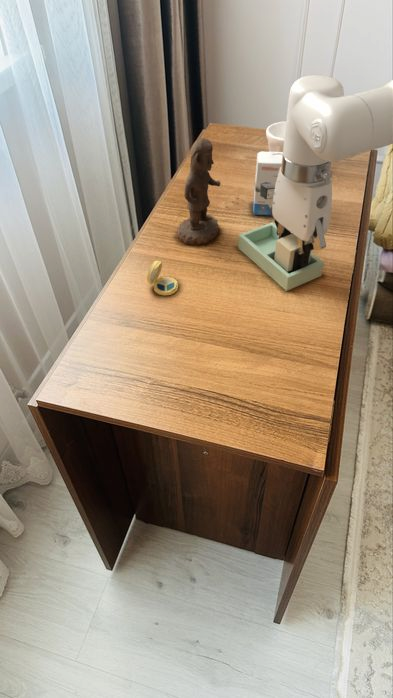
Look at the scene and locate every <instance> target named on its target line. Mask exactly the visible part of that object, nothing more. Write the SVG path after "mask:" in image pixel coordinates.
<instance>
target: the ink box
mask: <svg viewBox="0 0 393 698" xmlns="http://www.w3.org/2000/svg"><path fill="white" fill-rule="evenodd" d="M282 156H283V152H269V151H264V150H263V151H259V152H257V153H256V166H255V177H254V188H253V189H254V190H253V203H252V212H253V213H252V214H253V215H254V216H272V214H271V212H270V208H271V207H272V205H273V196H274V190H275V185H276V181H277V177H278V173H279V170H280V168H281V166H282ZM272 217H273V216H272Z"/></svg>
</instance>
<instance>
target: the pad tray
mask: <svg viewBox="0 0 393 698" xmlns="http://www.w3.org/2000/svg"><path fill="white" fill-rule="evenodd" d="M276 231H277V227H276V224H275V222H273V221H272V222H269V223H266V224H263V225H261V226H258V227H255V228H253V229H251V230H248V231H244V232H243V233H240V234H238V242H237V243H238V244H237V248H238V249H239V250H240V251H241V252H242V253H243V254H244V255H246V257H248V258H249V259H250V260H251V261H252V262H253V263H254V264H256V266H258V268H260V269H261V270H262V271H263V272H264V273H266V275H268V276H269V277H270V278H271V279H272V280H274V281H275V282H276V284H277V285H279V286H280V287H281V288H282V289H283V290H285V292H287V291H290V290H292V289H295V288H296V287H299V286H301V285H303V284H306V283H308V282H311V281H312V280H315V279H317V278H319V277H321V276H322V275H323V269H324V265H325V261H324V260H322V259H321V258H319V257H318V256H317V255H316V254H315V253H313V252H312V251H311V256H310V261H309V263H308V265H307V266H306V267H303V268H301V269H299V270H296V271H294V270H291V271H288V272H287V271H286V270H285V269H284V268H283V267H281V266H280V265H279V264H278V263H277V262H276V261H274V258H275V249H276V240H278V238H279V237H278V236H277V234H276Z"/></svg>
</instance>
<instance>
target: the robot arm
mask: <svg viewBox="0 0 393 698" xmlns="http://www.w3.org/2000/svg"><path fill="white" fill-rule="evenodd" d="M344 95H345V91H344V87H343V85H342V83H341V82H340V81H339V80H338V79H336V78H334V77H330V76H327V75H321V74H320V75H318V74H314V75H312V74H311V75H305V76H302V77H300V78H298V79H297V80H295V81H294V82H293V83H292V85H291V87H290V90H289V94H288V102H287V112H286V120H285V121H286V128H285V138H284V147H283V156H282V166H281V168H280V170H279V173H278V177H277V181H276V185H275V190H274V196H273V205H272V207H271V208H270V212H271V214H272V219H273V220H274V224H276V227H277V231H276V234H277V236H278V237H279V238H278V239H280V238H283V237H285V236H288V235H290V234H294V235H295V236H297V237H298V251H295V254H294V261H293V268H292V269H293V270H294V271H296V270H299V269H301V268H303V267H306V266H307V265H308V262H309V257H310V251H311V252H312V251H321V250H322V249H325V248H326V247H327V241H326V237H325V235H327V234H328V230H329V227H330V226H329V225H330V221H331V214H332V213H331V212H332V205H333V204H332V203H333V181H332V178H333V177H332V176H333V173H332V172H331V167H332V163H334V162H339V161H343V160H346V159H347V160H348V159H350V158H353V157H356V156H359V155H362V154H365V153H368V152H371V151H375V150H377V149H381V148H385V147H387V146H390V145H392V144H393V79H392V80H391V81H389V82H388V83H386V84H384V85H382V86H380V87H377V88H376V87H375V88H373V89H368V90H365V91H361V92H358V93H354V94H350V95H345V96H344ZM305 241H308V244H306V245H304V243H305Z"/></svg>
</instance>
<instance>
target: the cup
mask: <svg viewBox="0 0 393 698" xmlns="http://www.w3.org/2000/svg"><path fill="white" fill-rule="evenodd" d="M285 128H286V120H285V121H277V122H274V123H272V124H270V125H268V126H267V128H266V129H265V135H266V136H265V137H266V139H267V145H268V152H283V147H284V138H285Z"/></svg>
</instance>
